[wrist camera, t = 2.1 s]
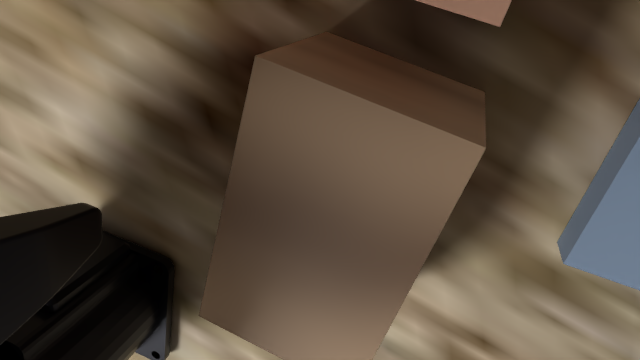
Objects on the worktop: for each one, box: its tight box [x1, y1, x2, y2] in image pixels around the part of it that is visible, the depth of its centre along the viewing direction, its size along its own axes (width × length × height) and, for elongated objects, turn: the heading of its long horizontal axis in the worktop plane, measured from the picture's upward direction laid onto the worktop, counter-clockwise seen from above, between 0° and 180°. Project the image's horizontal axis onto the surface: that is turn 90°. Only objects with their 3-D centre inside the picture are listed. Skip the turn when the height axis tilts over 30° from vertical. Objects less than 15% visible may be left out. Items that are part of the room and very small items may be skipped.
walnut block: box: [199, 32, 486, 360], centre depth 13 cm, size 8×5×5 cm, turn 163°
